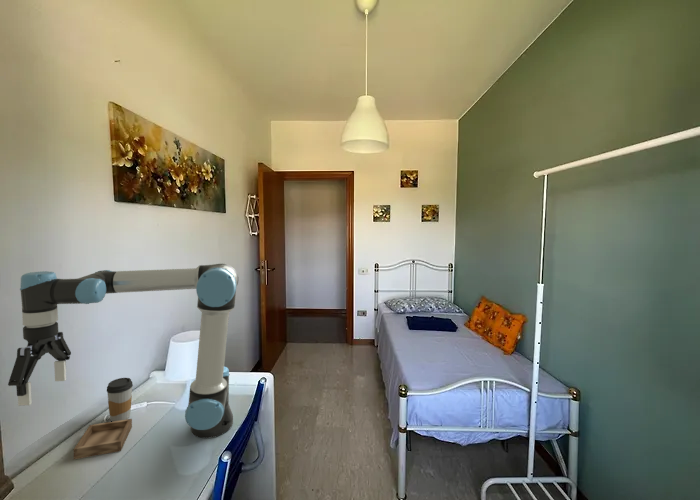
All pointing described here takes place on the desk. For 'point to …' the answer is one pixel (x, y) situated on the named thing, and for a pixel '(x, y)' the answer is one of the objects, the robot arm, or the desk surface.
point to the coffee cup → (119, 398)
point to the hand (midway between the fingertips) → (44, 392)
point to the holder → (103, 438)
